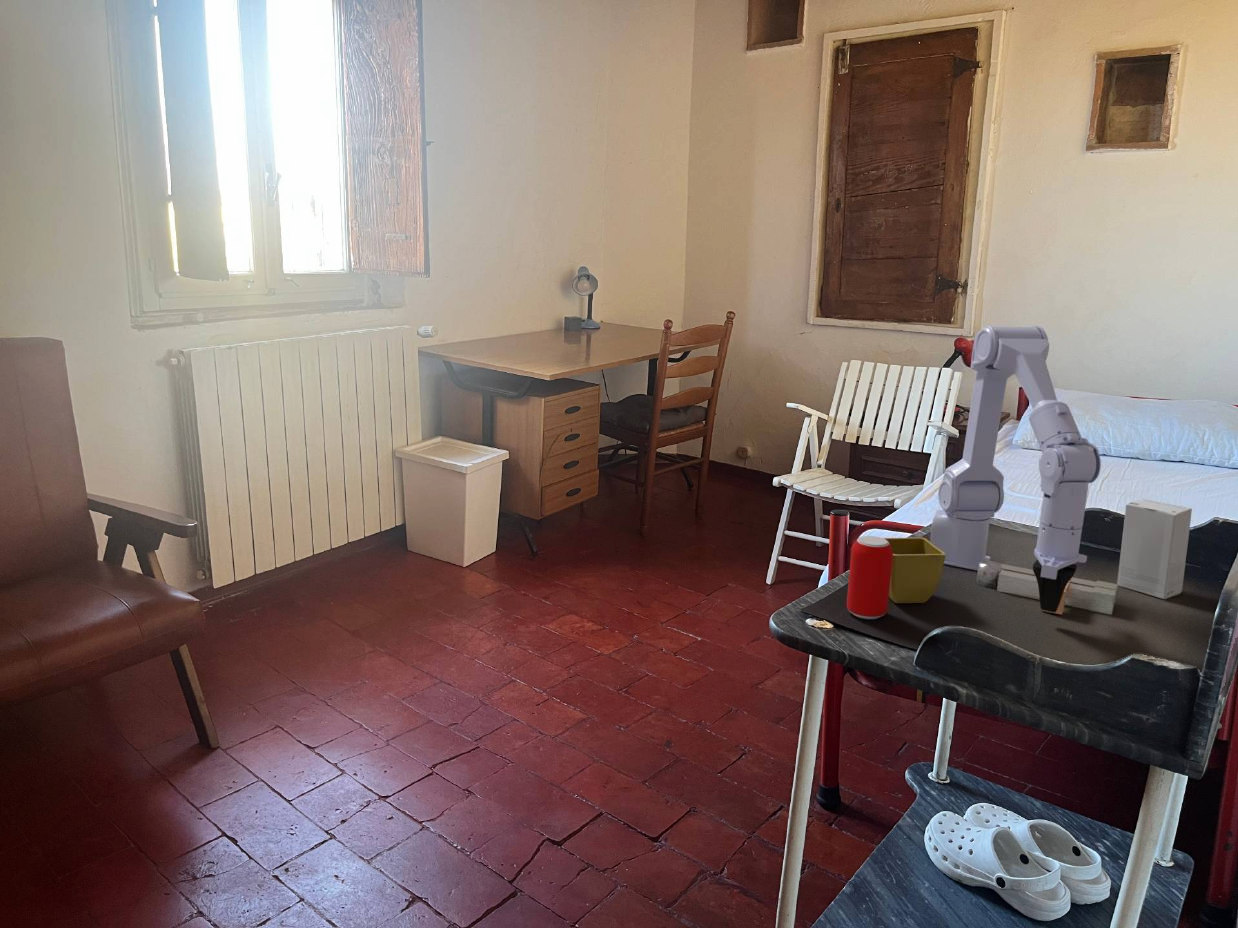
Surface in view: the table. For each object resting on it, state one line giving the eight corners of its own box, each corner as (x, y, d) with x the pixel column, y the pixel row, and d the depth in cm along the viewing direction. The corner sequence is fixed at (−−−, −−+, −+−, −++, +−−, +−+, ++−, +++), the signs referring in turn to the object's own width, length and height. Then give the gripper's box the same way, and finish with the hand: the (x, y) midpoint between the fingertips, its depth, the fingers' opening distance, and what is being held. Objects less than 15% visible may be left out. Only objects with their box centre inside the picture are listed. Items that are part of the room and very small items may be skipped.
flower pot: (868, 588, 152) (872, 536, 149) (919, 587, 152) (924, 536, 150) (887, 609, 143) (893, 555, 141) (941, 608, 144) (947, 554, 142)
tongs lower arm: (996, 591, 151) (998, 573, 151) (999, 586, 154) (1002, 568, 153) (1111, 614, 143) (1114, 595, 142) (1113, 609, 145) (1116, 590, 144)
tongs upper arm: (974, 584, 154) (976, 564, 153) (980, 575, 158) (982, 556, 157) (1112, 612, 144) (1115, 591, 143) (1114, 602, 147) (1118, 582, 147)
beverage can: (840, 615, 140) (846, 541, 137) (854, 603, 145) (861, 531, 142) (878, 625, 137) (886, 549, 134) (892, 612, 142) (899, 539, 139)
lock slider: (1041, 610, 143) (1044, 586, 142) (1048, 594, 150) (1052, 571, 149) (1061, 614, 142) (1065, 590, 141) (1068, 598, 148) (1072, 575, 148)
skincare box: (1181, 594, 152) (1197, 508, 148) (1163, 601, 149) (1178, 514, 145) (1131, 578, 159) (1144, 496, 155) (1112, 584, 155) (1125, 501, 152)
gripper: (1085, 541, 127) (1071, 632, 130) (1096, 516, 139) (1083, 600, 142) (1030, 532, 130) (1018, 620, 133) (1045, 509, 142) (1034, 590, 145)
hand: (1048, 609), depth 138 cm, fingers closed
